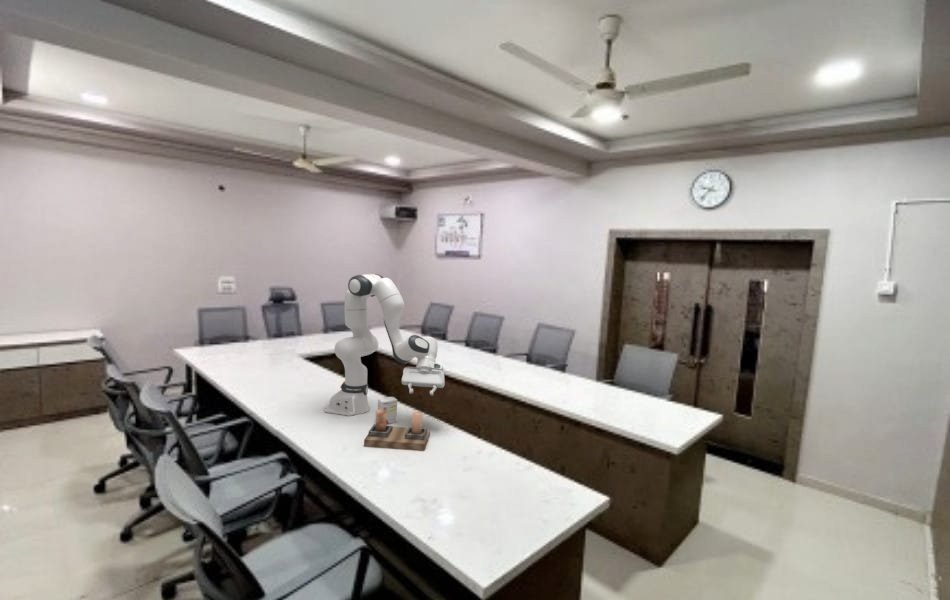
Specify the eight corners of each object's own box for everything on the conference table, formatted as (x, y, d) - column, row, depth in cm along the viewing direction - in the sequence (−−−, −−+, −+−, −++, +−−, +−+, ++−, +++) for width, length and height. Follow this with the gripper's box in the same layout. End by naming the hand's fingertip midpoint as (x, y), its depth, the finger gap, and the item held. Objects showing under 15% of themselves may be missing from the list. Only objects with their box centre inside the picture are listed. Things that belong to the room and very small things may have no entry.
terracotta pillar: (410, 437, 198) (411, 415, 197) (412, 433, 203) (413, 411, 202) (420, 437, 198) (421, 415, 197) (422, 433, 202) (423, 412, 201)
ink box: (380, 425, 216) (381, 401, 215) (376, 422, 220) (377, 398, 219) (396, 422, 222) (397, 399, 220) (392, 419, 226) (393, 396, 224)
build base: (364, 446, 193) (364, 416, 192) (374, 431, 209) (375, 404, 208) (424, 450, 192) (425, 421, 191) (429, 435, 208) (431, 408, 207)
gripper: (403, 362, 215) (397, 389, 206) (446, 366, 214) (442, 392, 206) (404, 369, 220) (399, 395, 211) (446, 372, 219) (443, 398, 210)
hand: (421, 393), depth 208 cm, fingers open, 8 cm apart
